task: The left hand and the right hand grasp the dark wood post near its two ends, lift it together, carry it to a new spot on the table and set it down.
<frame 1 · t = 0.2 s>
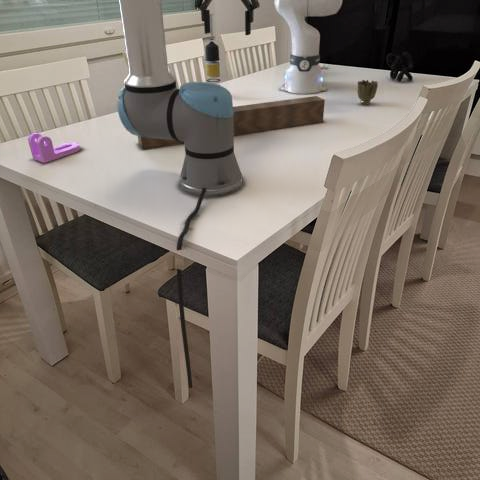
left hand: (227, 34, 139), 28 cm above the table, tool pointing down, fingers open, 13 cm apart
post: (235, 132, 143), on the table
bracket: (59, 154, 129), on the table
spray bottle: (308, 71, 219), on the table
cup: (365, 104, 168), on the table
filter: (214, 96, 183), on the table
squiggle: (399, 80, 200), on the table
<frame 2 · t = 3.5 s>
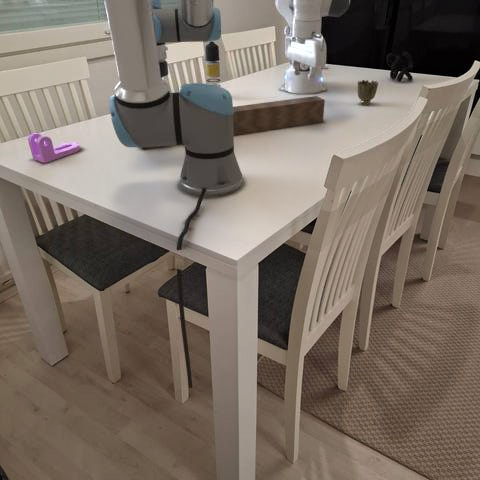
left hand: (162, 141, 135), 1 cm above the table, tool pointing down, fingers closed on post, 5 cm apart
right hand: (303, 77, 143), 15 cm above the table, tool pointing down, fingers open, 8 cm apart
post: (235, 132, 143), on the table, touching left hand
everything else where it was.
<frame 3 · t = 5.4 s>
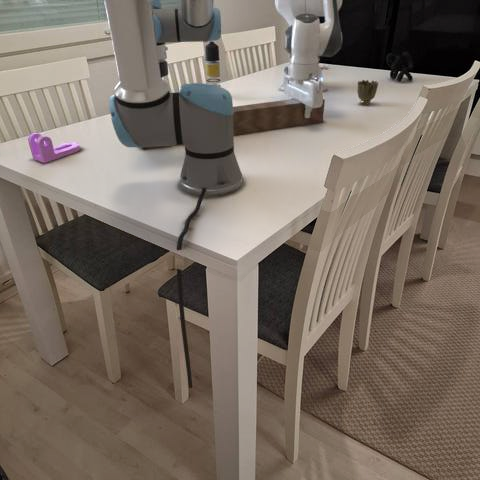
left hand: (162, 141, 135), 1 cm above the table, tool pointing down, fingers closed on post, 5 cm apart
right hand: (301, 114, 149), 3 cm above the table, tool pointing down, fingers closed on post, 5 cm apart
post: (235, 132, 143), on the table, touching left hand, right hand
everything else where it was.
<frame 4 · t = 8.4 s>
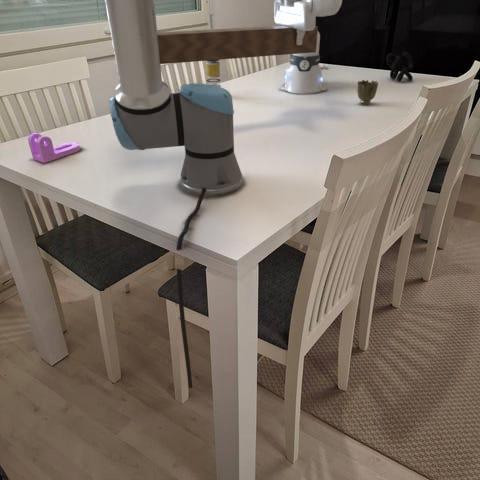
left hand: (142, 61, 126), 23 cm above the table, tool pointing down, fingers closed on post, 5 cm apart
right hand: (293, 43, 140), 25 cm above the table, tool pointing down, fingers closed on post, 5 cm apart
post: (222, 57, 134), point 22 cm above the table, touching left hand, right hand
everything else where it was.
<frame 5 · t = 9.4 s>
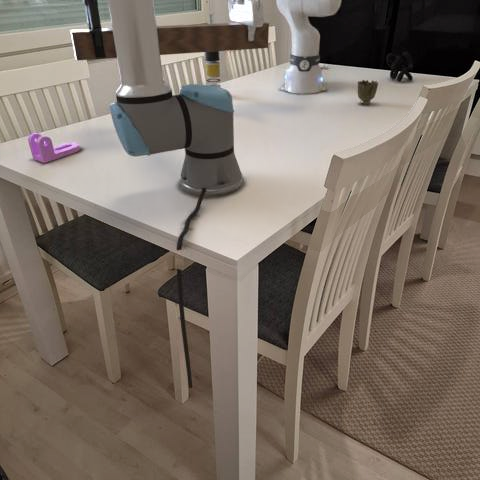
left hand: (99, 55, 133), 23 cm above the table, tool pointing down, fingers closed on post, 5 cm apart
right hand: (246, 39, 148), 25 cm above the table, tool pointing down, fingers closed on post, 5 cm apart
post: (177, 52, 142), point 22 cm above the table, touching left hand, right hand
everything else where it was.
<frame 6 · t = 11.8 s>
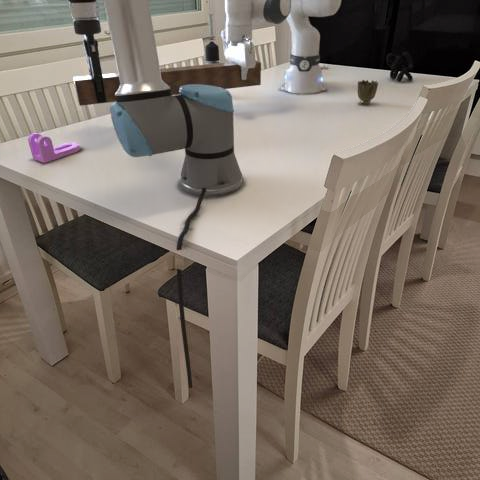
left hand: (100, 99, 142), 10 cm above the table, tool pointing down, fingers closed on post, 5 cm apart
right hand: (239, 77, 156), 12 cm above the table, tool pointing down, fingers closed on post, 5 cm apart
post: (174, 92, 150), point 10 cm above the table, touching left hand, right hand
everything else where it was.
when the left hand's fingers open (2 cm above the table, at t = 13.4 s): post drops 1 cm, on the table.
when the right hand's fingers open (4 cm above the table, at t = 13.6 s): post stays where it is, on the table.
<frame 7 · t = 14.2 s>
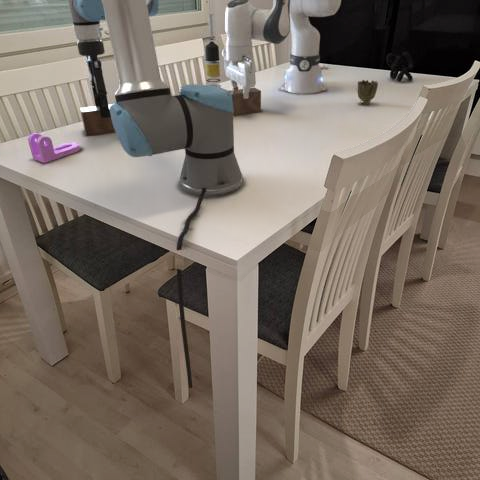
left hand: (102, 112, 143), 6 cm above the table, tool pointing down, fingers open, 13 cm apart
right hand: (240, 95, 159), 6 cm above the table, tool pointing down, fingers open, 8 cm apart
post: (177, 120, 155), on the table
everything else where it was.
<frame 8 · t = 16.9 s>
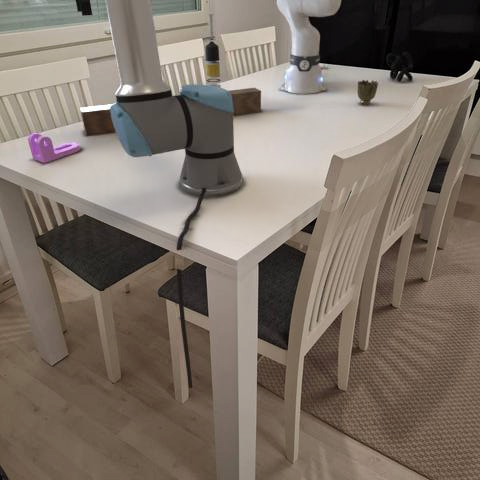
left hand: (84, 13, 129), 35 cm above the table, tool pointing down, fingers open, 13 cm apart
nothing on the table moved.
at the end: post inside the target area (0.3 cm from its centre), on the table; post tilted 0°; post never tilted more than 2° during the clip; both hands held the post at the same time; the left hand is holding nothing; the right hand is holding nothing; post at rest at the end (0.0 cm/s) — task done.
